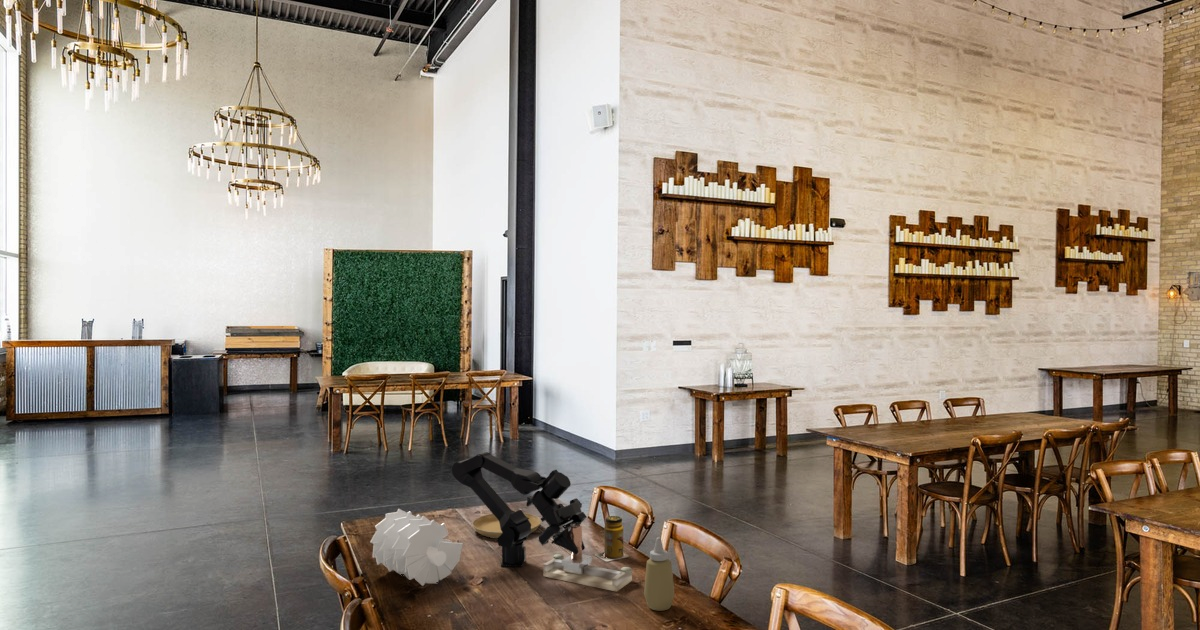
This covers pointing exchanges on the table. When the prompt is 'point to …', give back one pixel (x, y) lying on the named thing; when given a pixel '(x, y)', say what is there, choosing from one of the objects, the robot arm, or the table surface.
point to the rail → (589, 575)
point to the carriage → (578, 560)
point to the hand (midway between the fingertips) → (580, 551)
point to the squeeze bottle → (659, 579)
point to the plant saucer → (491, 525)
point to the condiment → (613, 539)
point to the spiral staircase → (415, 547)
